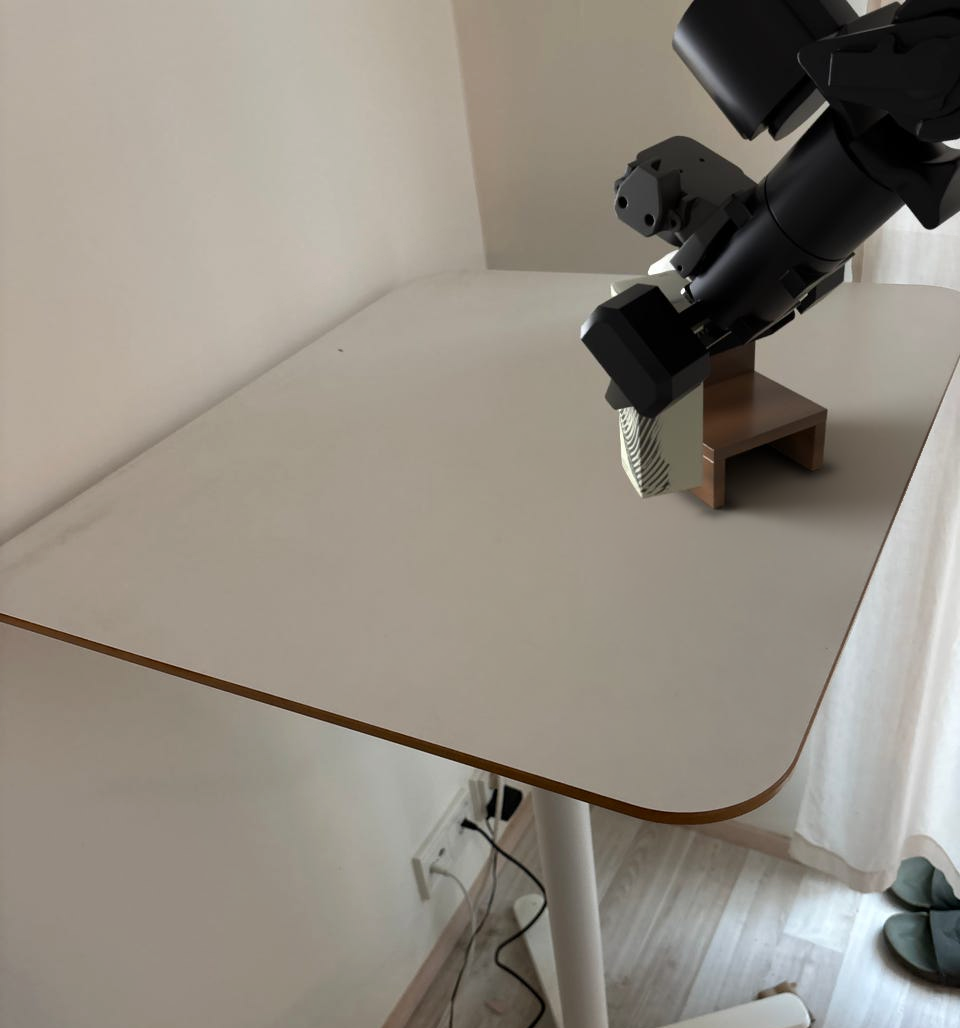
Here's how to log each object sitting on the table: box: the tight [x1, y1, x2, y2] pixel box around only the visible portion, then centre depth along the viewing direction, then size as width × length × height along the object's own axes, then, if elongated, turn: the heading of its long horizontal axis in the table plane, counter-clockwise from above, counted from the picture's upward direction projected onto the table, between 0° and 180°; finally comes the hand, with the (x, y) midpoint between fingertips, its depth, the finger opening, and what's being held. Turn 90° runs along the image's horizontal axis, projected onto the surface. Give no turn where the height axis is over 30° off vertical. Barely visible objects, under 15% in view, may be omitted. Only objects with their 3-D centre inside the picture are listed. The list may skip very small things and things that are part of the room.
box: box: [610, 270, 703, 499], centre depth 60 cm, size 5×4×13 cm
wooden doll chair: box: [687, 340, 829, 509], centre depth 73 cm, size 10×10×12 cm
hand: (642, 381), depth 61 cm, fingers closed on box, 6 cm apart
